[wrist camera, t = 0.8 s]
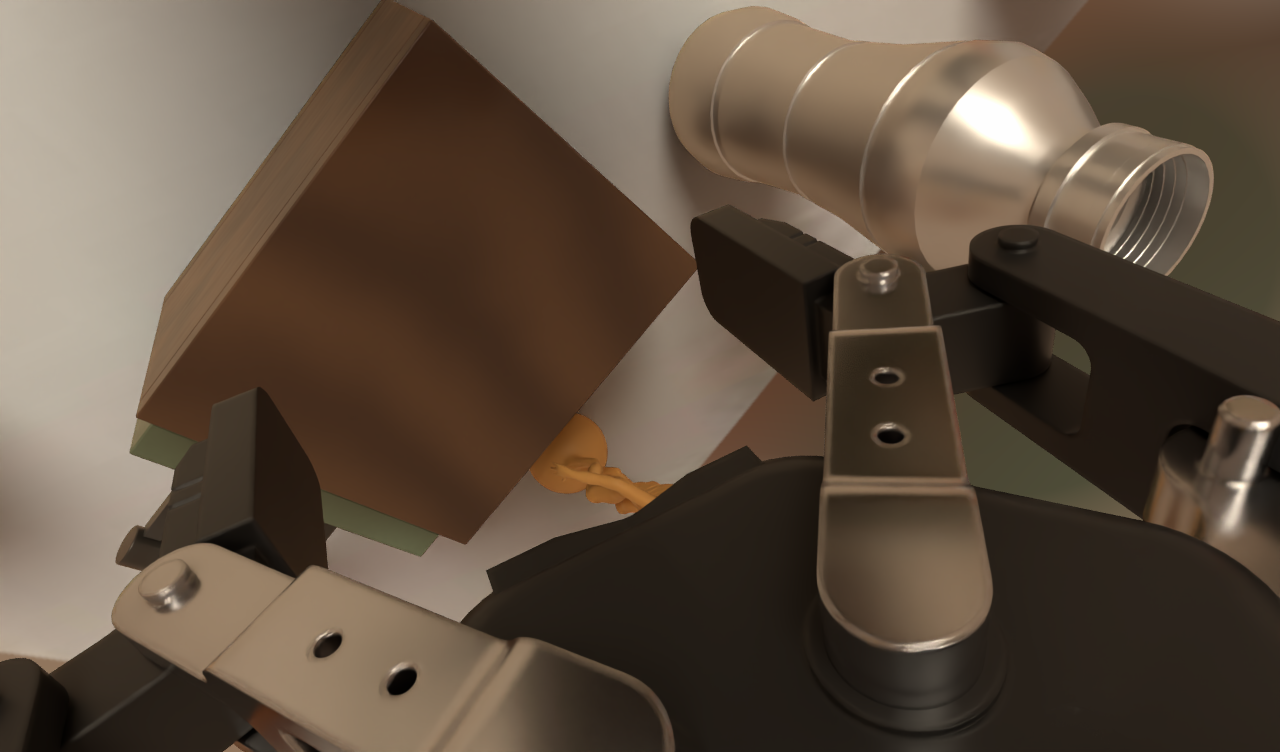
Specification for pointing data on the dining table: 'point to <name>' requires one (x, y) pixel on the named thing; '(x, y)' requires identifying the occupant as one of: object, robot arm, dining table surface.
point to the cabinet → (414, 284)
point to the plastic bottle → (931, 140)
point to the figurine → (590, 469)
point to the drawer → (337, 510)
